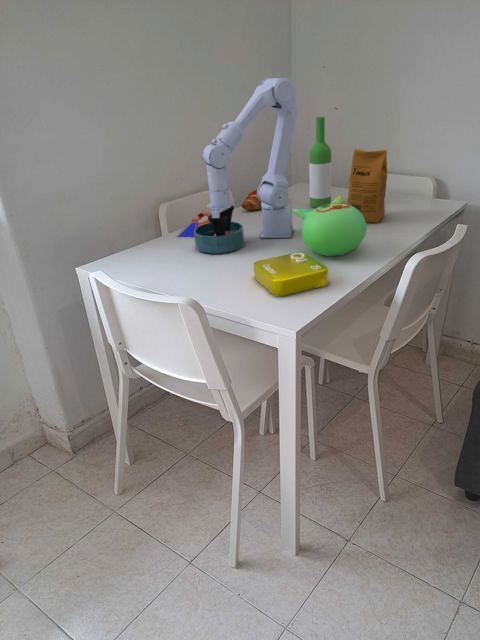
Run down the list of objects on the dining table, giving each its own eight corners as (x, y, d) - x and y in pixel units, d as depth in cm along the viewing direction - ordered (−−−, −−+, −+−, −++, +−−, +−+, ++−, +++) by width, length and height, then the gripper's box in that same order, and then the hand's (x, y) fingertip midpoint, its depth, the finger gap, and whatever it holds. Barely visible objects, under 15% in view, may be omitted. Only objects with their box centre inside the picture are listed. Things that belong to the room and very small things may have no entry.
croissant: (273, 206, 198) (265, 187, 197) (291, 197, 191) (283, 177, 189) (238, 219, 184) (229, 199, 183) (256, 210, 177) (247, 189, 176)
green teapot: (319, 268, 132) (319, 214, 124) (291, 250, 145) (289, 199, 137) (376, 255, 137) (379, 202, 130) (343, 238, 151) (345, 189, 143)
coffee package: (354, 212, 173) (356, 145, 162) (388, 216, 167) (393, 147, 155) (342, 220, 166) (343, 151, 155) (377, 225, 160) (381, 153, 148)
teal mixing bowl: (248, 237, 157) (246, 220, 154) (239, 254, 145) (237, 236, 142) (203, 238, 160) (200, 221, 157) (190, 254, 147) (187, 237, 144)
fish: (195, 208, 171) (219, 208, 169) (197, 222, 173) (220, 222, 171) (183, 220, 160) (208, 219, 158) (185, 234, 162) (210, 234, 161)
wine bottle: (306, 207, 182) (304, 118, 167) (315, 202, 188) (315, 115, 172) (325, 209, 179) (325, 118, 163) (334, 203, 184) (335, 115, 169)
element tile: (252, 277, 130) (250, 260, 127) (303, 265, 134) (302, 248, 132) (276, 298, 118) (275, 280, 115) (330, 285, 122) (331, 266, 120)
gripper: (211, 183, 150) (216, 227, 157) (199, 196, 138) (205, 243, 145) (234, 182, 149) (238, 227, 156) (223, 195, 137) (228, 242, 144)
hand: (223, 234), depth 150 cm, fingers open, 7 cm apart
